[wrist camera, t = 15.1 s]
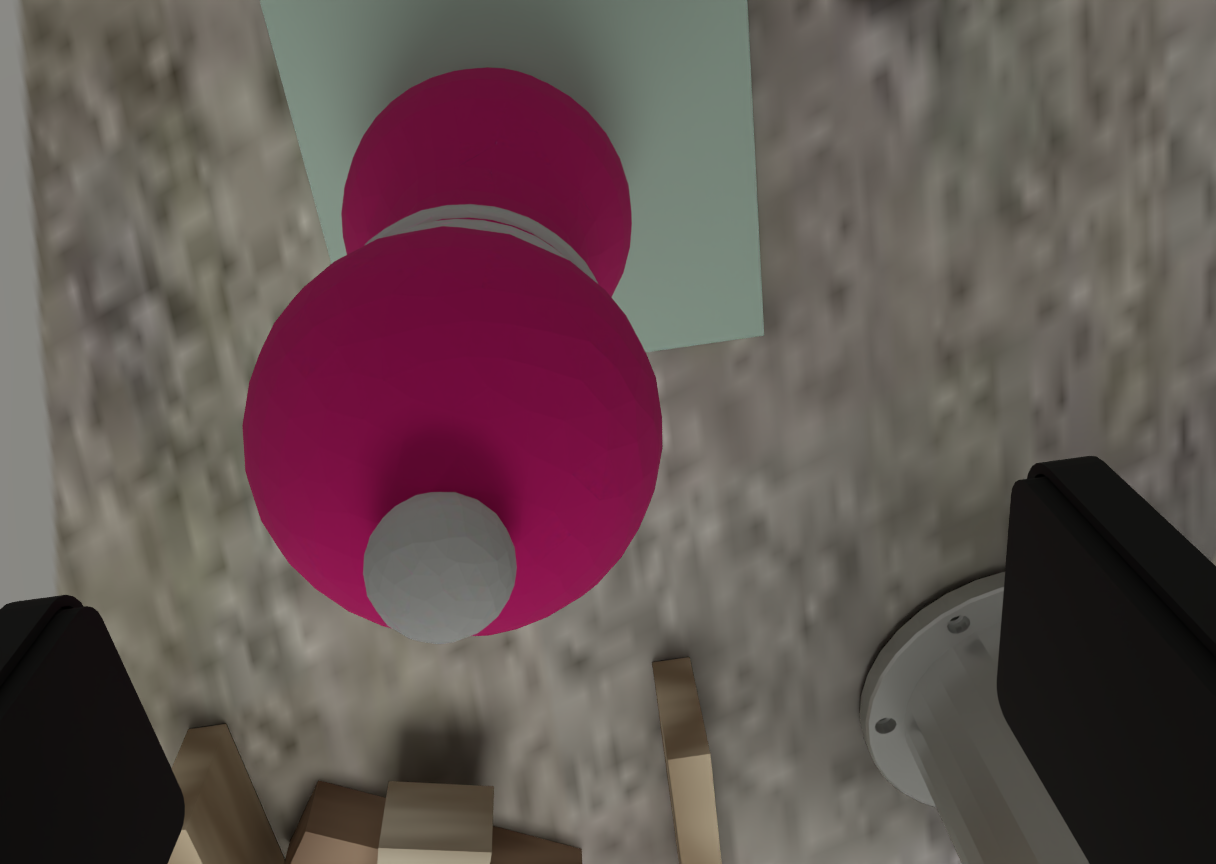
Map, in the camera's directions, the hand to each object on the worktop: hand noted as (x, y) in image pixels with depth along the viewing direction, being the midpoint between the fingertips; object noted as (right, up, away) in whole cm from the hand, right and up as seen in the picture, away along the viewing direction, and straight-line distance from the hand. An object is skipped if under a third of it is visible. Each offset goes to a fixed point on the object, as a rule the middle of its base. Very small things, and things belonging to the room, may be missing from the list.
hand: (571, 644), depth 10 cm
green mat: (-2, +10, +18) cm, 21 cm away
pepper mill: (-3, +10, +18) cm, 21 cm away
